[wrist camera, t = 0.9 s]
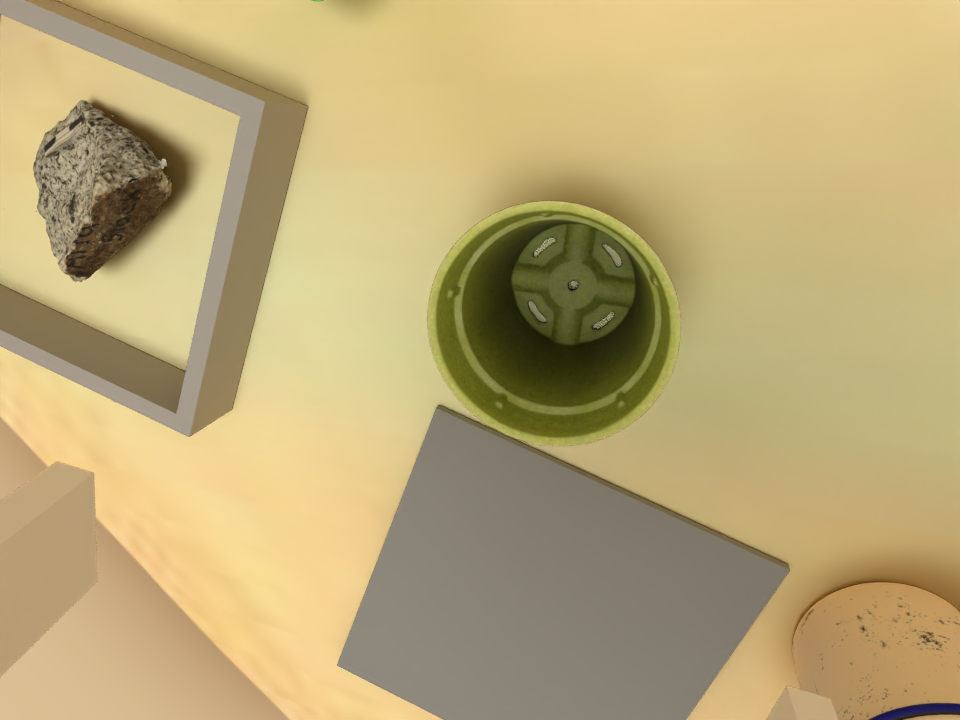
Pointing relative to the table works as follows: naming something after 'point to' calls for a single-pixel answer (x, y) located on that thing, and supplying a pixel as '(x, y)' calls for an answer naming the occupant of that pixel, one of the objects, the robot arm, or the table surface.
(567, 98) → the table surface
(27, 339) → the rock display frame
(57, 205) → the rock sample
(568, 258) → the plant pot
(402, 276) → the table surface
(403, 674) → the charcoal mat
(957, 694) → the teacup with lid
